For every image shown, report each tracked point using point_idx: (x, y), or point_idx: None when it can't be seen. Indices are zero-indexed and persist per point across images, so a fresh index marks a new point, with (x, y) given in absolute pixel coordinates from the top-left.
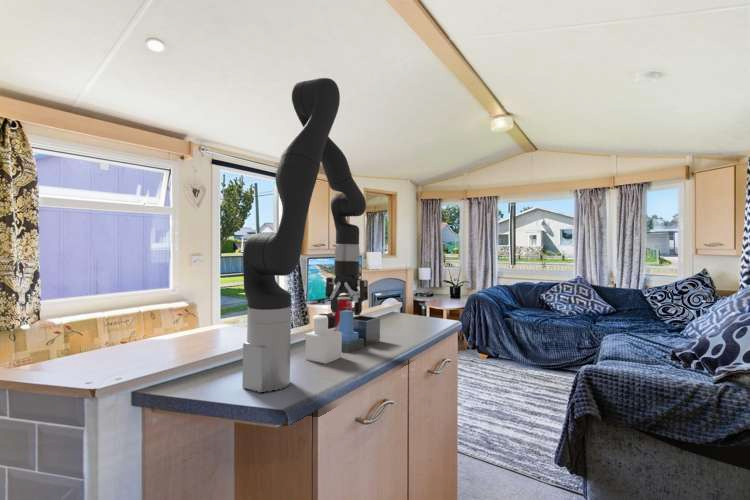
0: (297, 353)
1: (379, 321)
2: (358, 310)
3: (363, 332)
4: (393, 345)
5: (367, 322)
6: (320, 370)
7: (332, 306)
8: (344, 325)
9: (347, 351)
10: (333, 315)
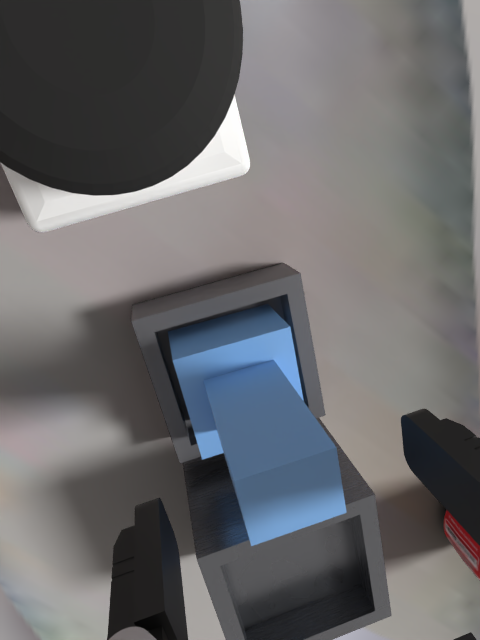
0: (314, 55)
1: None
2: (119, 557)
3: (207, 493)
4: (107, 561)
5: (199, 564)
6: None
7: (445, 437)
8: (245, 398)
9: (137, 305)
10: (31, 155)
